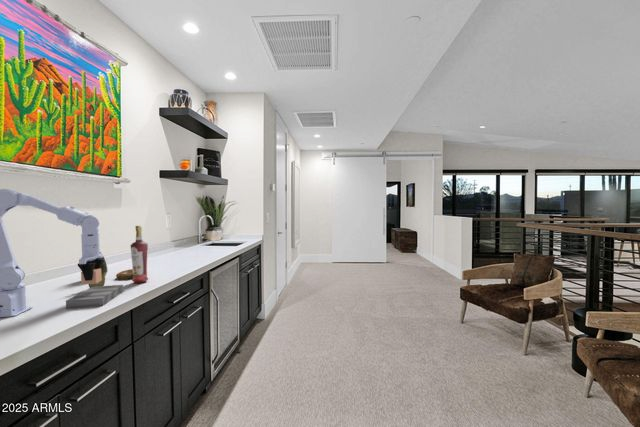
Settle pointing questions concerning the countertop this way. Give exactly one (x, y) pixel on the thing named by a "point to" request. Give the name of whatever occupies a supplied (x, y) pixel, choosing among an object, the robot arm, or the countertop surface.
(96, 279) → the terracotta block
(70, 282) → the countertop surface
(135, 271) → the liquor
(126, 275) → the decorative rock
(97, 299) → the charcoal board
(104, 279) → the fennel bulb
